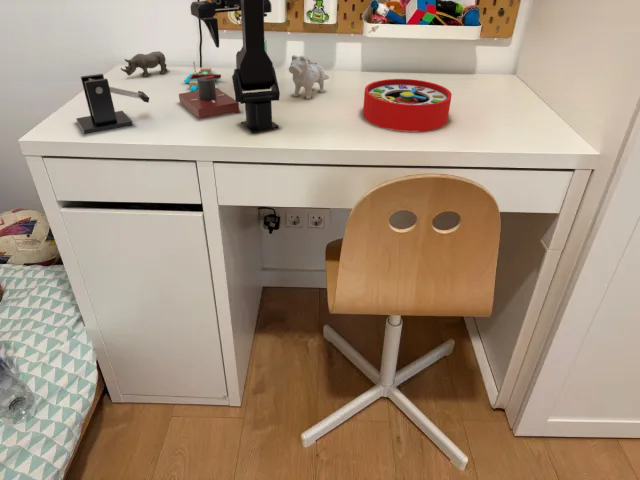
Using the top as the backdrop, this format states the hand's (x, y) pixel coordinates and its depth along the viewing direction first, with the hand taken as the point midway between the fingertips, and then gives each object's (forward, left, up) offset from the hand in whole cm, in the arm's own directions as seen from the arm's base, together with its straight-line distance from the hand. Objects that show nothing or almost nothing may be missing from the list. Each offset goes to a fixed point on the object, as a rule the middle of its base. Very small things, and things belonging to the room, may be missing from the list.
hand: (234, 45), depth 122 cm
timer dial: (-7, +11, -9) cm, 16 cm away
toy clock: (-35, -27, -12) cm, 46 cm away
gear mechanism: (+14, +4, -12) cm, 19 cm away
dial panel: (-7, +11, -12) cm, 18 cm away
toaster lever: (-6, +31, -6) cm, 32 cm away
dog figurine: (-10, -15, -12) cm, 22 cm away
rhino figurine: (+28, +16, -12) cm, 34 cm away
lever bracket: (-6, +35, -12) cm, 37 cm away
